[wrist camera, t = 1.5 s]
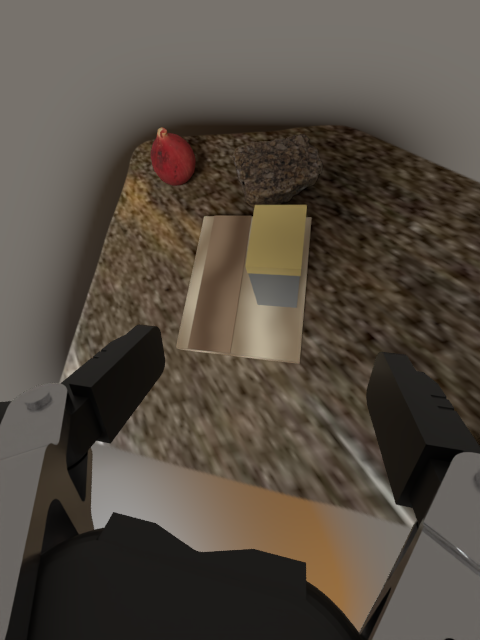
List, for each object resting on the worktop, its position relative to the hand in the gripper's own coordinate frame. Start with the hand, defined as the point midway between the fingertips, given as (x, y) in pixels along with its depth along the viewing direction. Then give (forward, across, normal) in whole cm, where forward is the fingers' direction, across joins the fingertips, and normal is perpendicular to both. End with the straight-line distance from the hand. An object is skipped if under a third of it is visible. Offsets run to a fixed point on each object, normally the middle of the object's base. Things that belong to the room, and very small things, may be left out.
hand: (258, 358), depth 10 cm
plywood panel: (+22, +4, +5) cm, 23 cm away
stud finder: (+21, +1, +4) cm, 22 cm away
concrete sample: (+34, +2, -6) cm, 34 cm away
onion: (+34, +16, -6) cm, 38 cm away
